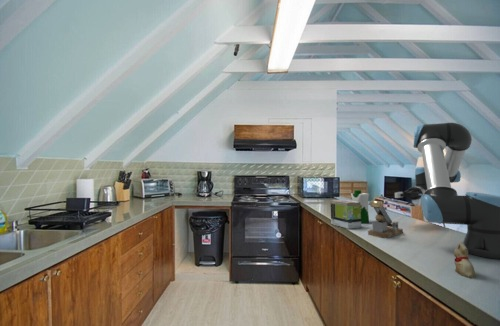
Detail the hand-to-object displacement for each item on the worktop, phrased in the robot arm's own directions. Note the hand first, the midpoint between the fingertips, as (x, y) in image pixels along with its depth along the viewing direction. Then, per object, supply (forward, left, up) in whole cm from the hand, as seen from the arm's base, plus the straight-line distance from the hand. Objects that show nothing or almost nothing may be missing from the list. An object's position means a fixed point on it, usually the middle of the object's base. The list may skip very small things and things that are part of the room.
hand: (396, 195), depth 142 cm
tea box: (+8, +25, -19) cm, 33 cm away
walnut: (-13, +13, -12) cm, 22 cm away
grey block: (-13, +13, -17) cm, 25 cm away
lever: (-7, +6, -15) cm, 17 cm away
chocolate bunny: (-59, +1, -19) cm, 62 cm away
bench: (-9, +9, -19) cm, 22 cm away
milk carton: (+19, +14, -19) cm, 31 cm away
